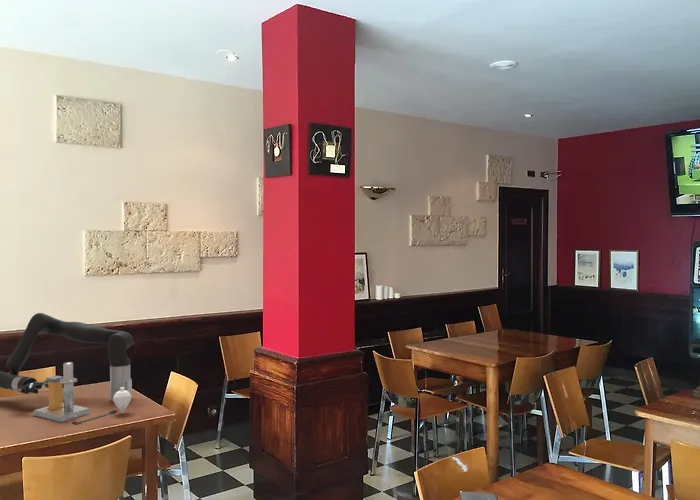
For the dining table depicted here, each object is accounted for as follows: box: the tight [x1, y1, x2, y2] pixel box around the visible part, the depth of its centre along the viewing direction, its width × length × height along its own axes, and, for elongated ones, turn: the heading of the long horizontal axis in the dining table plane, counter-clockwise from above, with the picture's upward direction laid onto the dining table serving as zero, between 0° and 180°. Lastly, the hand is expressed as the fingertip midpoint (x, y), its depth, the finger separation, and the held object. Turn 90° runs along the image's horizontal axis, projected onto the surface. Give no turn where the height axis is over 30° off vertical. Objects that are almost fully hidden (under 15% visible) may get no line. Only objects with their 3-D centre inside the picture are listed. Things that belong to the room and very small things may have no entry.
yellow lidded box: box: [45, 375, 63, 411], centre depth 268 cm, size 5×5×16 cm
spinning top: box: [112, 387, 132, 415], centre depth 268 cm, size 8×8×12 cm
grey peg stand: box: [33, 361, 90, 423], centre depth 266 cm, size 19×14×24 cm
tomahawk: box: [71, 409, 118, 426], centre depth 261 cm, size 21×7×1 cm, turn 146°
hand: (46, 389), depth 271 cm, fingers open, 8 cm apart
